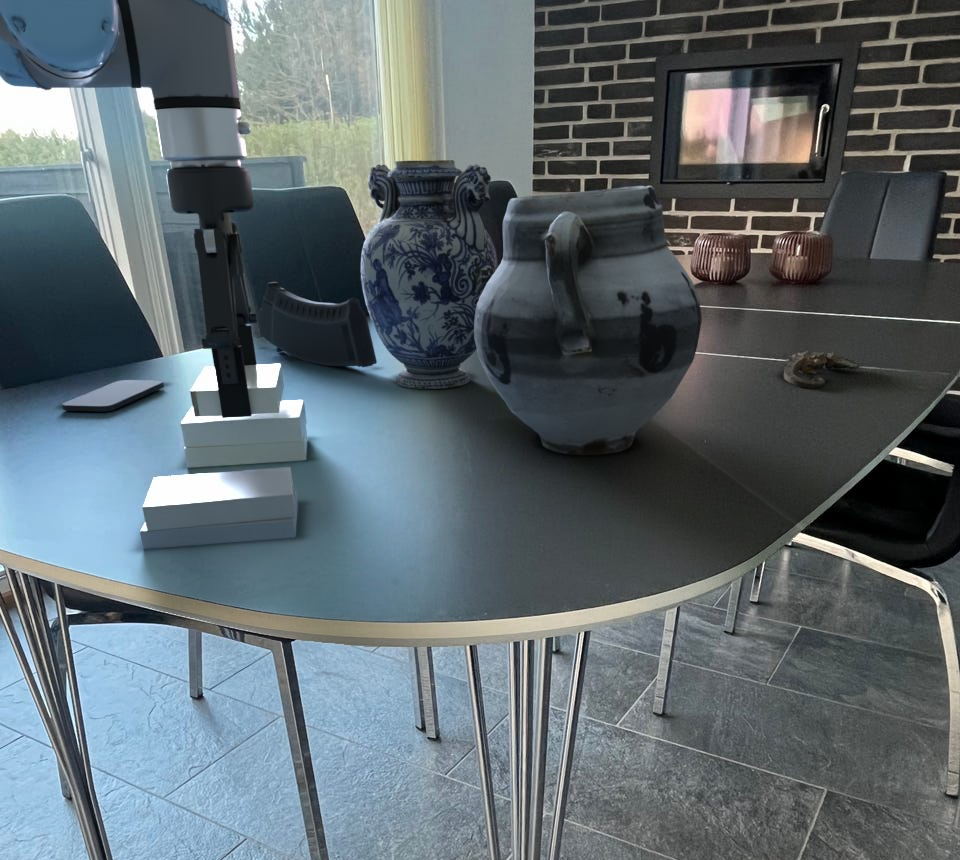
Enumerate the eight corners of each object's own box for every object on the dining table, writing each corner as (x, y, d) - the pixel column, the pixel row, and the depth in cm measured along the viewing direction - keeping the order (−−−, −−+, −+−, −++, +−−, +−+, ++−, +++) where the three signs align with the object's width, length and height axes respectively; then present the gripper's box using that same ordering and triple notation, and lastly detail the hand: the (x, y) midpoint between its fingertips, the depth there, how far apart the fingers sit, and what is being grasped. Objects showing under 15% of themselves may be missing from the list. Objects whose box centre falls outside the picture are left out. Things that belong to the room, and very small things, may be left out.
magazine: (382, 311, 125) (276, 237, 140) (364, 313, 123) (258, 239, 139) (372, 418, 136) (275, 339, 152) (355, 421, 135) (258, 342, 150)
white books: (188, 472, 88) (179, 424, 86) (198, 450, 96) (190, 405, 93) (308, 465, 90) (302, 416, 88) (309, 443, 97) (303, 398, 95)
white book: (194, 417, 84) (189, 390, 83) (208, 390, 95) (204, 366, 93) (279, 413, 85) (275, 386, 84) (283, 387, 96) (281, 363, 94)
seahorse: (754, 379, 121) (757, 357, 120) (814, 362, 131) (817, 341, 129) (814, 390, 115) (818, 366, 114) (872, 371, 125) (877, 349, 123)
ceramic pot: (676, 497, 79) (704, 188, 67) (439, 480, 85) (426, 193, 73) (698, 419, 103) (721, 182, 91) (512, 410, 109) (512, 186, 97)
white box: (144, 555, 69) (133, 507, 67) (161, 519, 77) (152, 475, 75) (298, 543, 71) (292, 496, 69) (300, 509, 78) (295, 465, 76)
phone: (57, 405, 113) (119, 379, 125) (58, 411, 113) (121, 385, 126) (108, 406, 111) (166, 380, 124) (110, 413, 112) (167, 386, 125)
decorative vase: (531, 379, 125) (534, 157, 111) (446, 404, 112) (437, 158, 99) (423, 363, 137) (413, 161, 124) (335, 384, 124) (314, 162, 111)
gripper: (237, 162, 70) (273, 428, 80) (257, 165, 91) (283, 376, 101) (140, 164, 69) (189, 433, 79) (183, 167, 90) (217, 379, 100)
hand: (242, 401), depth 90 cm, fingers closed on white book, 12 cm apart
